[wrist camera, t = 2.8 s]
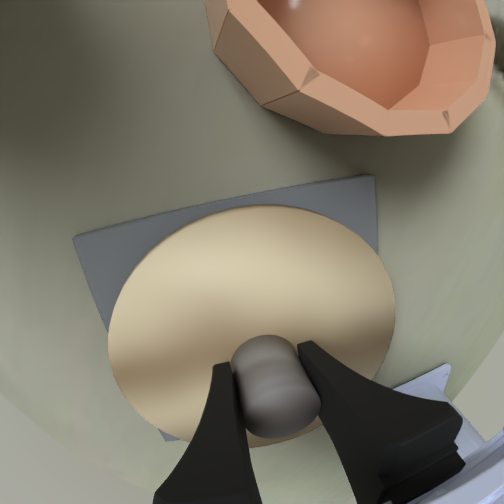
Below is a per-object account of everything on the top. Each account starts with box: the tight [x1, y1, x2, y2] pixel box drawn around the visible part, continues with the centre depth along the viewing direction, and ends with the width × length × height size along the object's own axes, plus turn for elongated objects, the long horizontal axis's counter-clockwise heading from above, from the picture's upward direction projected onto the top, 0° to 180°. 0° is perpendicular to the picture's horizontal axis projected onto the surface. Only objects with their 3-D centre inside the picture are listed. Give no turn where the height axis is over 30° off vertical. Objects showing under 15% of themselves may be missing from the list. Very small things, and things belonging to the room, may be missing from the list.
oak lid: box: [108, 204, 395, 448], centre depth 12 cm, size 13×13×4 cm
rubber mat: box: [73, 174, 378, 442], centre depth 15 cm, size 13×13×1 cm
